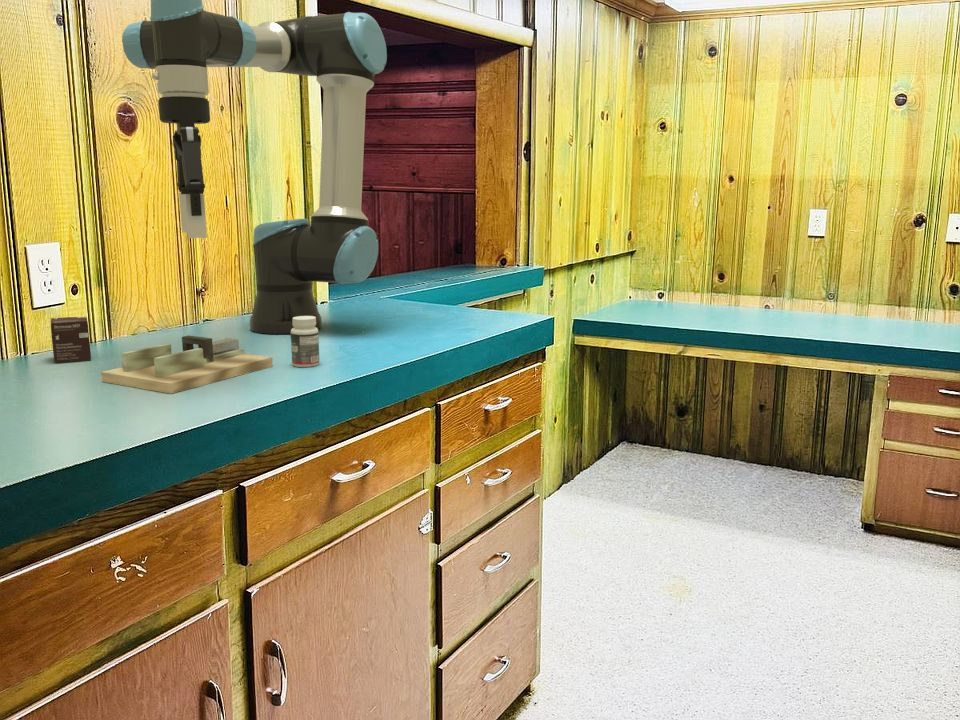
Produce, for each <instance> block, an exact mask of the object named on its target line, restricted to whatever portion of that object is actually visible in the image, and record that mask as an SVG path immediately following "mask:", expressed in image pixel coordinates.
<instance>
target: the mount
mask: <svg viewBox="0 0 960 720" xmlns="http://www.w3.org/2000/svg"><path fill="white" fill-rule="evenodd" d="M212 342H213V338H212V337H203V336H196V335H185V336H181V346H182V351H179V352H175V353H172V346H171V345H172V344H170V343H163V344H158V345H153V346H150V347H149V346H148V347H144V348H139V349H136V350H130V351H125V352H121V363H122V366H121V367H117V368H113V369H108V370H104V371H101V372H100V373H101V382H103V383H107V384H114V385H120V386H123V387H124V386H126V387H131V388H135V389H143V390H147V391H154V392H160V393H165V394H171V395H172V394H175V393H179V392H183V391H187V390H190V389H194V388H197V387H201V386H205V385H209V384H211V383H212V384H213V383H216V382H219V381H220V382H221V381H224V380H227V379H230V378H234V376H235V377H238V375H239V376H242V374H243V375H246V374H249V373H253V372H257V371H260V370H261V371H262V370H265V369H268V368H272V367H273V365H274V364H273V363H274V362H273V357H272V356H265V355H257V354H249V353H245V352H244V351H245V350H244V349H240V348H239V349H238V350H234V351H230V352H226V353H221V354H217V355H213V344H212ZM194 345H197V346H198V345H201V346H202V348H198V347H197V348H194ZM271 366H272V367H271Z"/></svg>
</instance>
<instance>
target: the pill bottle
mask: <svg viewBox="0 0 960 720" xmlns="http://www.w3.org/2000/svg"><path fill="white" fill-rule="evenodd" d="M292 324H293V326H294V328H292V329H291V333H290V344H291V345H290V347H291V364H292V366H293V367H296V368H309V367H310V368H312V367H315V366H318V365H319V364H320V341H319V335H320V334H319V329H317V328H316V327H315V325H316V317H314V316H298V317H293V318H292Z"/></svg>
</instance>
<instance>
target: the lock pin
mask: <svg viewBox="0 0 960 720" xmlns="http://www.w3.org/2000/svg"><path fill="white" fill-rule="evenodd" d="M239 343H240V342H239V339H238V338H230V337H227V338H222V339H218V340H212V344H213V355H217V354H221V353H226V352H230V351H234V350H238V349H240V344H239ZM197 348H202V346H201V345H197Z"/></svg>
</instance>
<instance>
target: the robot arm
mask: <svg viewBox="0 0 960 720" xmlns="http://www.w3.org/2000/svg"><path fill="white" fill-rule="evenodd" d="M204 6H205V5H204V4H203V0H150V17H149V19H150V20H145V19H144V20H141V21H138V22H136V21H135V22H132V23H129V24H128V25H127V26H126V27H125V29H124V30H123V32H122V37H121V43H122V47H123V48H122V49H123V52H124V54H125V57H126V58H127V60H128V61H129V62H130V63H131V64H132V65H133V66H134V67H137V68H139V69H150V70H155V71H156V72H153V73H152V75H151V78H152V79H153V80H154V81H155V80H156V81H157V82H156V86H157V87H156V88H157V93H158V94H159V95H162V96H161V97H158V98H159V99H157V102H158V103H157V105H158V116H159V121H160V122H161V123H164V124H176V130H175V131H174V133H173V135H172V145H173V148H174V157H175V160H176V175H177V177H176V178H177V182H176V186H177V190H178V198H179V199H178V201H179V214H180V226H181V233H187V238H188V239H199V238H200V239H202V238H208V232H207V230H208V229H207V217H206V205H205V194H204V192H205V188H206V184H205V182H204V181H205V180H204V179H205V178H204V173H203V164H202V163H203V162H202V148H201V147H202V137H201V136H202V135H200V134H199V133H200V129H199V128H198V126H196V125H199V124H200V125H201V124H208V123H210V122H211V111H210V110H211V109H210V101H209V100H208V98H206V96H208V95H209V93H210V90H209V76H208V75H209V74H208V68H260V69H261V70H263V71H264V72H268V73H281V74H282V73H283V74H289V75H298V76H307V77H308V76H309V77H316V80H315V81H317V83H318V84H319V85H320V87H321V88H322V90H323V96H322V98H323V102H322V121H321V123H322V125H321V126H322V127H321V149H320V150H321V153H320V174H319V175H320V176H319V177H320V178H319V200H318V203H319V205H318V208H317V210H315V211H314V212H313V213H312V214H311V216H310V217H311V218H310V221H309V219H308V218H296V219H295V218H294V219H287V220H279V221H278V220H277V221H271V222H263V223H259V224H257V225H256V226H255V228H254V229H253V244H252V247H253V254H254V255H253V256H254V268H255V269H254V272H255V285H256V290H255V291H256V295H255V300H254V303H253V309H252V313H251V314H252V315H251V316H250V318H249V327H250V331H252V332H254V333H259V334H269V335H270V334H271V335H275V334H276V335H278V334H279V335H284V334H285V335H286V334H291V329H292V328H294V326H293V324H292V318H293V317H298V316H314V317H316V325H315V327H316V328H317V329H318V330H320V329H321V328H322V327H323V326H322V316H321V314H320V313H319V309H318V307H317V303H316V299H315V297H314V293H313V287H312V282H314V283H315V282H316V283H335V284H340V285H346V284H358V283H361V282H364V281H365V280H366V279H367V278H368V277H369V276H370V275H371V273H372V272H373V271H374V269H375V266H376V264H377V262H378V261H377V259H378V256H379V240H378V239H377V237H378V236H377V233H376V231H375V230H374V229H373V228H371V227H370V226H369V218H368V217H367V215H365V214H364V212H363V211H362V203H363V202H362V200H363V198H362V197H363V177H364V174H363V173H364V155H365V154H364V151H365V149H364V147H365V129H366V104H367V103H366V102H367V93H368V92H369V91H370V90H371V89H373V87H374V86H375V75H377V74H380V73H382V72H383V71H384V69H385V67H386V65H387V61H388V60H387V59H388V54H387V53H388V52H387V44H386V40H385V36H384V34H383V32H382V29H381V27H380V26H379V24H378V21H377V20H376V19H375V18H374V17H373V16H371V15H370V14H368V13H366V12H351V11H347V12H345V13H334V14H332V13H331V14H321V15H314V16H313V15H309V16H307V15H306V16H301V17H295V18H290V19H285V20H280V21H279V20H277V21H264V22H261V23H259V24H258V25H255V26H254V25H250V24H249V23H247V22H246V21H244V20H241V19H239V18H237V17H234V16H232V15H231V16H228V15H224V14H220V13H216V12H211V11H208V10H205V9H204Z"/></svg>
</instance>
